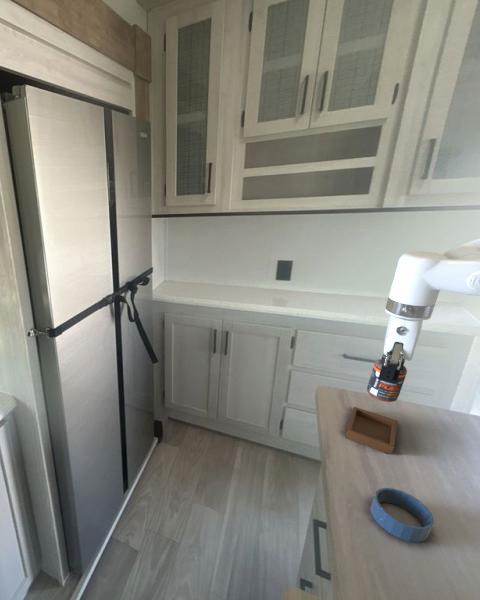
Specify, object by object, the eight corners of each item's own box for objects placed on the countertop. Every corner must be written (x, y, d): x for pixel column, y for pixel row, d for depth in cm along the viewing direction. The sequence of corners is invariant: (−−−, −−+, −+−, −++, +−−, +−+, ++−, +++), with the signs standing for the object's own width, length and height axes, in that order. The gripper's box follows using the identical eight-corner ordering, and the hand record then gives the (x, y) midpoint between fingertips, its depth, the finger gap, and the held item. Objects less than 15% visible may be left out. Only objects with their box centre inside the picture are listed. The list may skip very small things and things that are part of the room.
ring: (406, 506, 69) (413, 490, 68) (437, 549, 62) (446, 532, 60) (360, 502, 71) (365, 485, 69) (385, 542, 64) (392, 525, 62)
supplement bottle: (374, 402, 81) (385, 363, 77) (361, 387, 86) (371, 350, 82) (403, 404, 80) (417, 364, 75) (388, 388, 85) (400, 350, 81)
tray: (352, 413, 94) (353, 406, 93) (395, 427, 88) (397, 420, 87) (345, 437, 87) (347, 430, 86) (391, 455, 81) (394, 447, 80)
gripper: (432, 326, 66) (407, 399, 72) (432, 297, 77) (411, 363, 84) (382, 317, 71) (363, 386, 77) (389, 292, 82) (372, 354, 89)
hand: (388, 373), depth 80 cm, fingers closed on supplement bottle, 6 cm apart
